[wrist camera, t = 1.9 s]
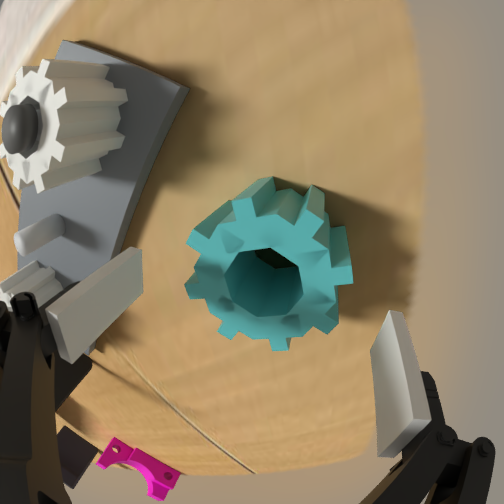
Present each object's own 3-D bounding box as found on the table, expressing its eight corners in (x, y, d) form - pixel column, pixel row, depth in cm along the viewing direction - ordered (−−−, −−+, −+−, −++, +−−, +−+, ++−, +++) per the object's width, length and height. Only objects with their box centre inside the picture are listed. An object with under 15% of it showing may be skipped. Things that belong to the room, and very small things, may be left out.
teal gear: (258, 149, 18) (230, 160, 13) (373, 229, 19) (389, 269, 13) (198, 254, 23) (160, 294, 17) (296, 317, 23) (285, 372, 18)
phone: (58, 338, 35) (-5, 402, 21) (57, 334, 34) (-7, 399, 21) (95, 364, 34) (34, 439, 21) (95, 361, 34) (32, 436, 20)
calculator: (66, 429, 57) (39, 465, 43) (64, 424, 55) (36, 461, 42) (98, 452, 56) (73, 490, 43) (97, 447, 54) (71, 487, 41)
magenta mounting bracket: (181, 472, 46) (167, 500, 39) (170, 475, 48) (158, 500, 42) (116, 433, 45) (99, 460, 38) (111, 439, 48) (95, 464, 41)
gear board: (73, 41, 17) (-2, 35, 10) (190, 88, 18) (107, 75, 10) (25, 285, 32) (-17, 316, 24) (94, 348, 32) (55, 392, 25)
